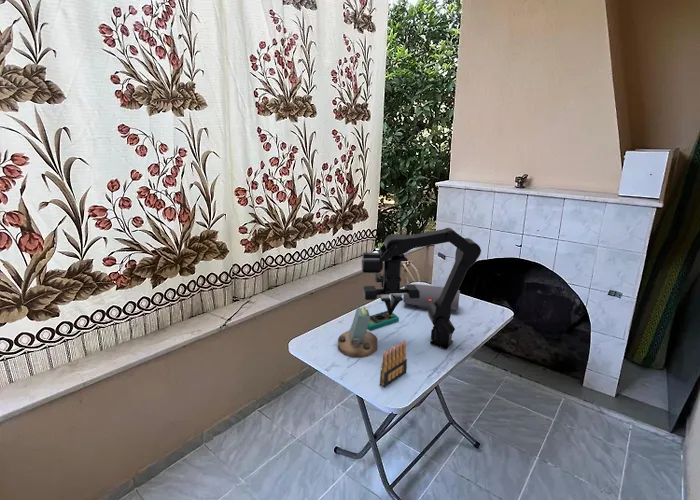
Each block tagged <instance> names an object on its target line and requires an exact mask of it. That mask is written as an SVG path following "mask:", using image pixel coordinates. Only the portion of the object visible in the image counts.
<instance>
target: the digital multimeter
mask: <svg viewBox="0 0 700 500" xmlns="http://www.w3.org/2000/svg"><path fill="white" fill-rule="evenodd" d="M399 319H400V317H399V316H398V315H397V314H396V313H394V312H393V313H392V314H391V315H389V314H388V311H387V310H384V311H381V312H378V313H375V314H371V315H370V320H369V324H368V327H367V330H368V332H371V331H372V332H373V331H375V330H378V329H380V328H383V327H386V326H389V325H392V324H396V323H399Z"/></svg>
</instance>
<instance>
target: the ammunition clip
mask: <svg viewBox="0 0 700 500" xmlns="http://www.w3.org/2000/svg"><path fill="white" fill-rule="evenodd" d="M406 344H407V343H406V340H405V339H403V341H399V343H396V344H395V346H394V345H392V346H391V348H390V347H389V348H388V349H387V351H386V350H384V351H383V355H382V362H381V369H380V374H379V375H380V377H379V386H381V387H382V388H385V389H386V388H387V387H388V386H390V385H391V384H392V383H394V382H395V381H397V380H398V379H400V378H401V377H404V375H406V374H407V371H408V370H407V365H408V364H407V363H408V359H407V349H406V348H407V345H406Z"/></svg>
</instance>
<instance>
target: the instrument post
mask: <svg viewBox="0 0 700 500" xmlns="http://www.w3.org/2000/svg"><path fill="white" fill-rule="evenodd" d="M370 316H371V315H370V312H369V309H366V306H362V307H357V308H356V311H355V314H354V317H353V320H352V323H351V326H350V327H351V328H350V330H349V331H350V337H351V341H353V338H359V343H363V339H364V336H365V333H366V331H367V330H368V329H367V327H368V324H369V320H370Z"/></svg>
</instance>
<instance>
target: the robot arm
mask: <svg viewBox="0 0 700 500" xmlns="http://www.w3.org/2000/svg"><path fill="white" fill-rule="evenodd" d="M445 243H450V244H451V245H452V246H454V247H456V250H455V255H454V258H455V259H454V263H453V266H452V268H451V271H450V273H449V275H448V277H447V279H446V282H445V284H444V286H443V287H444V288H443V291H442V293H441V295H440V297H439V299H438V300H436V301H433V300H432V301H431V304H430V306H429V308H428V309H426V310H427V314H428V315H427V316H428V318H429V319H430V322H431V323H432V325H433V326H432V329H431V331H430V332H431V333H430V341H429V344H430V345H431V346H435V347H438V348H440V349H444V350H448V349H449V348H450V347H451V345H453V343H454V340H453V334H454V333H455V330H456V327H455V326H454V325H453V322H452V321H451V316H452V310H451V305H452V303H453V300H454V298H455V296H456V294H457V292H458V290H459V289H460V287H461V285H462V283H463V281H464V278H465V276H466V274H467V271H468V269H469V268H470V267H472V266H473V265H474V264H475V263H476V261H478V259H479V257H480V256H481V253H482V249H481V247H480V245H479V244H478V243H477V242H475V241H474V240H473V239H472V238H468V237H466V238H464V237H463V236H462V235H460V234H459V233H457V232H456V230H454V229H453V228H451V227H445V228H442V229H437V230H436V229H435V230H431V231H426V232H421V233H415V234H401V233H400V234H396V233H394V234H389V235H387V236H386V237H385V239H384V240H383V244H382V245H381V247H380V248H379V249H378V250H377V252H362V259H361V273H362V274H374V281H375V282H374V283H379V284H380V286H381V288H378V289H377V288H376V286H375V285H364V286H363V287H362V295H363V297H364V300H366V301H373V300H374V301H375V300H376V299H377V298H378V296H379V298H380V301H381V302H384V304H385V307H386V311H388V314H389V315H391V314H392V313H394V311H395V309H396V307H397V306H398V305H399V303H401V302H403V295H404V294H409V295H408V296H409V297H410V298H419V297H420V291H419V290H418V288H417V287H416V286H415V285H404V287H403V288H401V282H402V277H401V276H402V275H401V274H402V262H408V261H409V259H408V258H407V256H406V255H405V254H406V253H408V252H409V251H411V250H414V249H417V248H424V247H428V246H434V245H435V246H436V245H440V244H445ZM382 271H383V273H381V272H382Z"/></svg>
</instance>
